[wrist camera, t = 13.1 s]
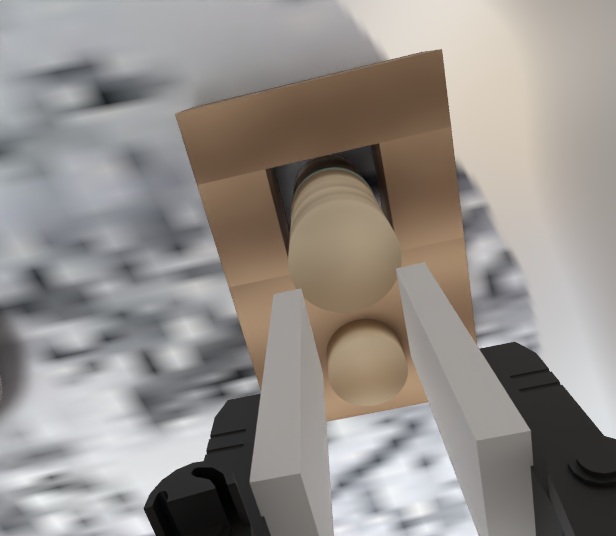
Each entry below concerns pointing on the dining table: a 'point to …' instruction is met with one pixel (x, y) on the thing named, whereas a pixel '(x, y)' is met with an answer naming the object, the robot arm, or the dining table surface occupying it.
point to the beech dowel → (340, 238)
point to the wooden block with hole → (394, 199)
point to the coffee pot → (0, 389)
